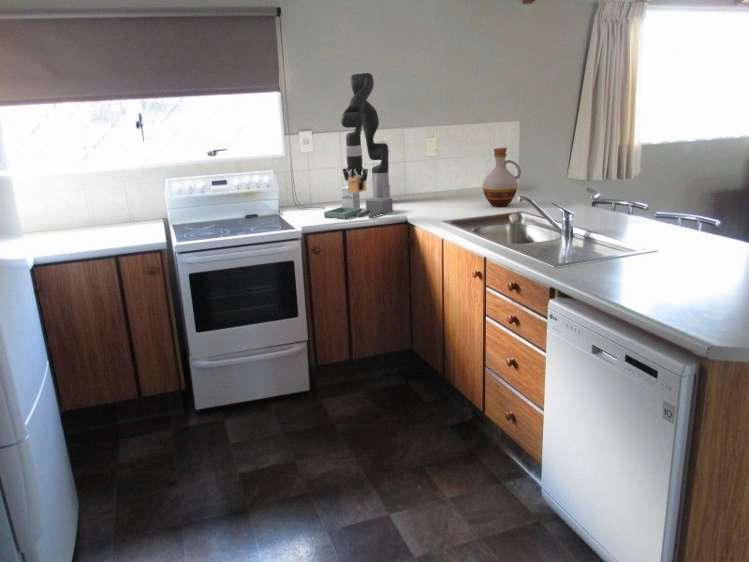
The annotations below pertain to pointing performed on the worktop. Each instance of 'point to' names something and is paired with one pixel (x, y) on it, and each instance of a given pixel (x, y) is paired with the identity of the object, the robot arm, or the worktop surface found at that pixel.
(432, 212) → the worktop surface
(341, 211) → the tray
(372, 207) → the printer bay
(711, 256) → the worktop surface
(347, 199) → the supplement box
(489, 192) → the jug
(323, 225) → the worktop surface
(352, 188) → the toner caddy
